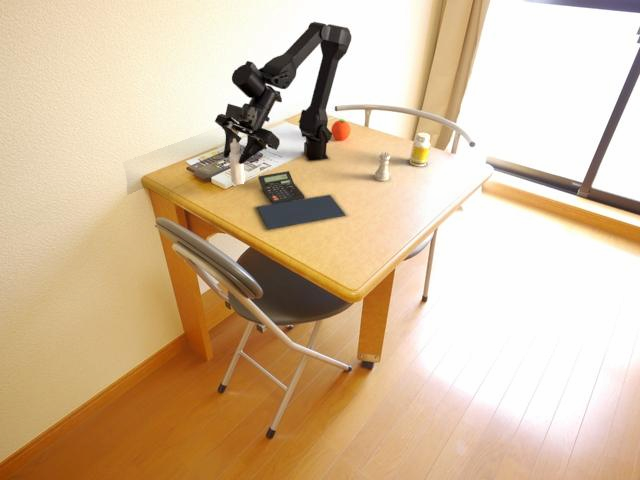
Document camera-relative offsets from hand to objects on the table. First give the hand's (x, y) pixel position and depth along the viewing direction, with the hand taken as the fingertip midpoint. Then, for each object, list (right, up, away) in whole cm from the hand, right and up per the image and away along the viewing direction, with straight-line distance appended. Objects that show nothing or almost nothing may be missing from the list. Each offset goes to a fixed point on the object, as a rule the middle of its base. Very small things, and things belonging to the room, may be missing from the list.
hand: (232, 160), depth 106 cm
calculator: (+12, -7, +9) cm, 17 cm away
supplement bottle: (+55, +5, +29) cm, 63 cm away
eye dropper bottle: (0, -5, +5) cm, 7 cm away
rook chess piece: (+42, -2, +19) cm, 46 cm away
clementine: (+30, +16, +42) cm, 54 cm away
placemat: (+18, -13, +1) cm, 22 cm away
